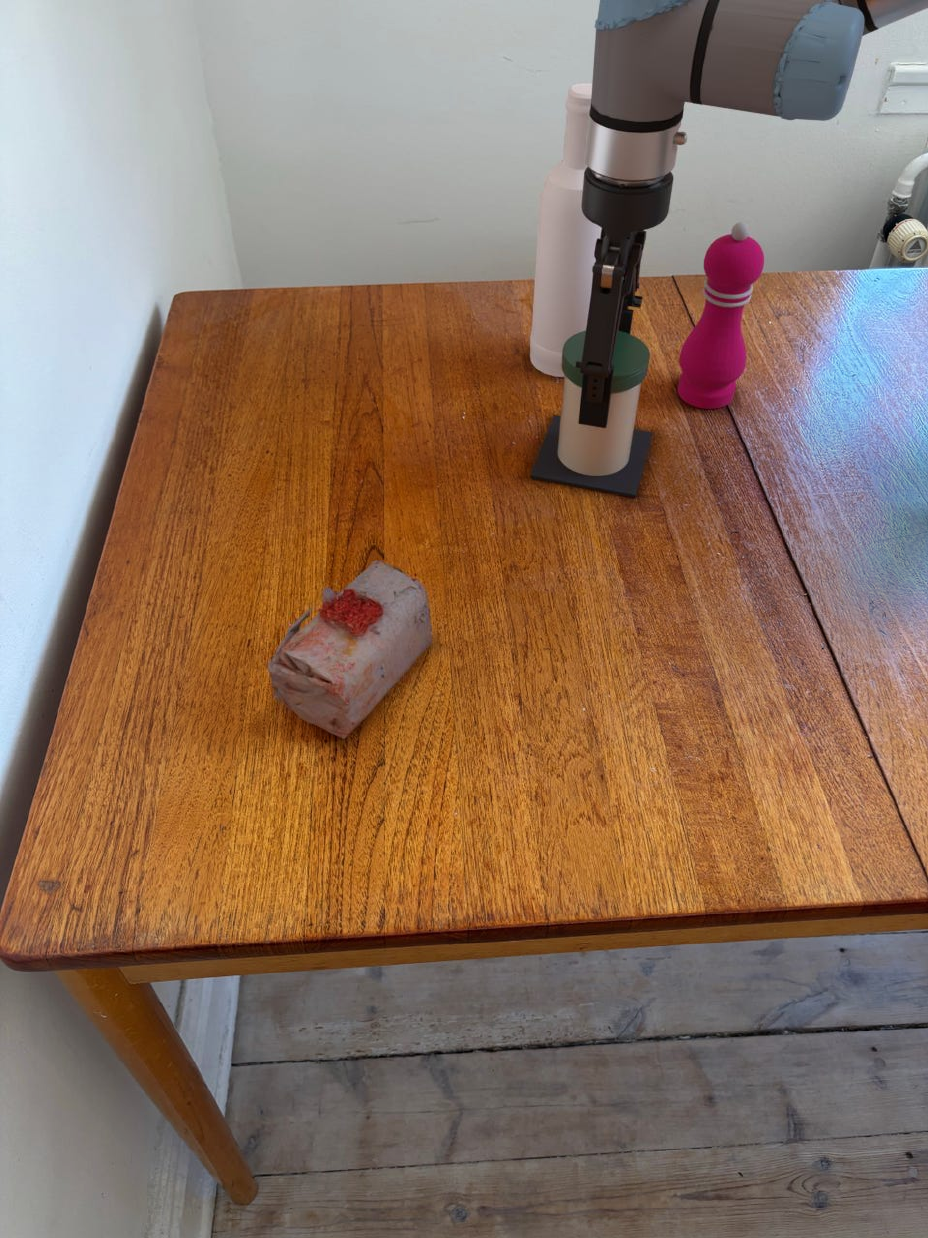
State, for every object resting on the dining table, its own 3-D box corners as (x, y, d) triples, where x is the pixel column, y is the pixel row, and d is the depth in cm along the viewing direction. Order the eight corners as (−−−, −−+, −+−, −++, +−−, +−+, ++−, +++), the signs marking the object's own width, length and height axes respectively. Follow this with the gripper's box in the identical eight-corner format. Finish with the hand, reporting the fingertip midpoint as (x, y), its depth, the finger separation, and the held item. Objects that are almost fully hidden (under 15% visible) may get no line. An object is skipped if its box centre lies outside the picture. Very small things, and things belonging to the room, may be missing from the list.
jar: (635, 438, 108) (650, 344, 100) (622, 482, 103) (637, 386, 95) (565, 426, 109) (575, 332, 101) (550, 468, 104) (558, 372, 96)
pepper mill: (679, 412, 112) (713, 240, 97) (668, 375, 117) (699, 206, 102) (743, 411, 112) (787, 239, 98) (729, 375, 117) (769, 206, 103)
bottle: (515, 358, 119) (528, 86, 97) (561, 334, 123) (584, 67, 101) (563, 386, 115) (589, 111, 93) (610, 361, 119) (645, 90, 97)
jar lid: (551, 383, 97) (552, 366, 95) (571, 338, 102) (572, 322, 101) (638, 399, 95) (641, 382, 94) (654, 352, 101) (656, 336, 99)
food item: (346, 757, 80) (335, 677, 73) (269, 713, 83) (251, 632, 76) (441, 649, 88) (440, 567, 81) (368, 612, 91) (360, 530, 84)
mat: (652, 435, 109) (653, 432, 109) (635, 498, 102) (635, 495, 102) (553, 417, 111) (553, 414, 111) (529, 478, 104) (529, 474, 104)
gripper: (653, 233, 77) (620, 467, 93) (691, 123, 91) (657, 342, 107) (556, 220, 78) (540, 453, 94) (609, 114, 93) (588, 331, 109)
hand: (602, 394), depth 101 cm, fingers open, 10 cm apart
